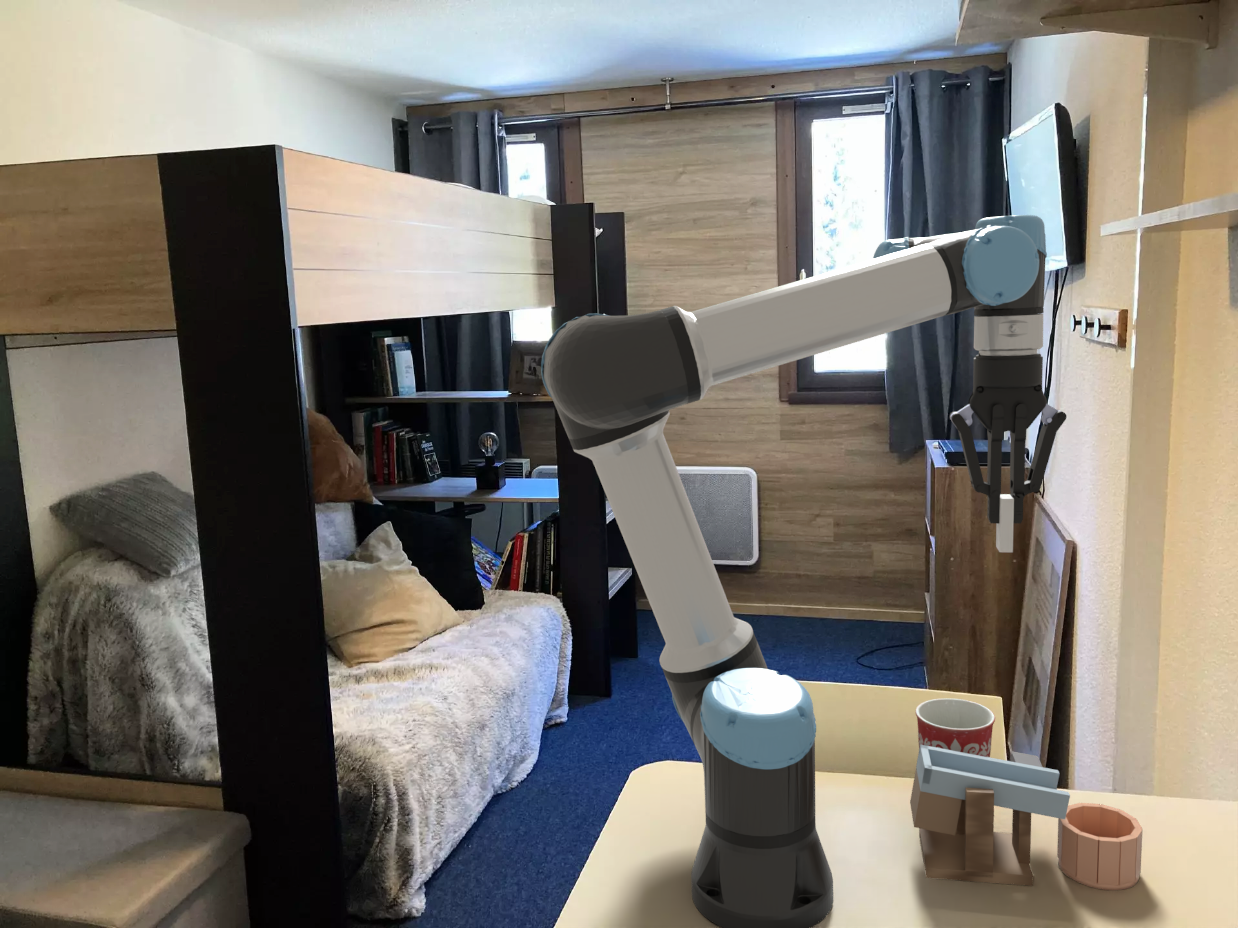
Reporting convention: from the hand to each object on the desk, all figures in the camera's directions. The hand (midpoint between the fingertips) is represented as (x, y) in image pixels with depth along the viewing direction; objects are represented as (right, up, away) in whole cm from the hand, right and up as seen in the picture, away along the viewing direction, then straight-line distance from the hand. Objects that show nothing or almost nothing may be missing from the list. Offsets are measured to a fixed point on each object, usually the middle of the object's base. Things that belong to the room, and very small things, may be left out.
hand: (1004, 549), depth 119 cm
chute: (-5, -30, -5) cm, 31 cm away
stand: (-6, -34, -7) cm, 36 cm away
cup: (+6, -34, -10) cm, 36 cm away
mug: (-5, -33, +4) cm, 33 cm away
